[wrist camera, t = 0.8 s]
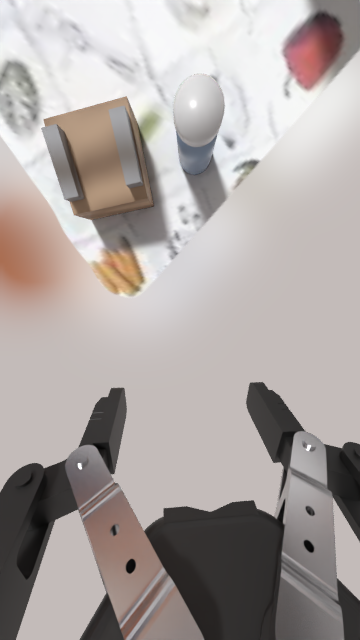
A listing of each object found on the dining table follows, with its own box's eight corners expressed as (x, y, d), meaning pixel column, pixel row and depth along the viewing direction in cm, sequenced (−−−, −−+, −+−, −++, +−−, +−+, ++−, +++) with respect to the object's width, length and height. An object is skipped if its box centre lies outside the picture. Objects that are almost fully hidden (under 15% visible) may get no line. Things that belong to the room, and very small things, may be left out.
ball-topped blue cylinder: (175, 138, 27) (168, 81, 18) (209, 130, 27) (221, 66, 17) (181, 178, 29) (178, 145, 19) (214, 171, 28) (227, 133, 19)
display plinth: (67, 141, 28) (33, 111, 22) (137, 122, 27) (122, 86, 21) (91, 219, 31) (67, 213, 25) (154, 206, 30) (145, 195, 24)
